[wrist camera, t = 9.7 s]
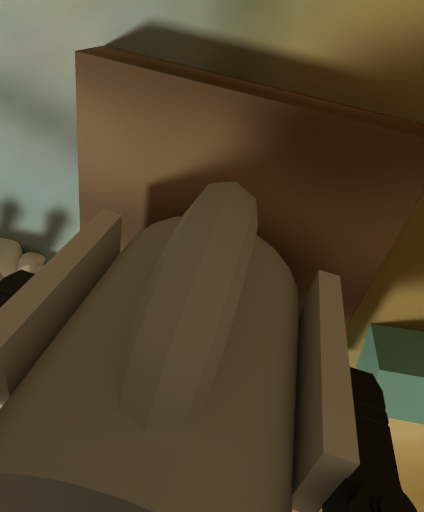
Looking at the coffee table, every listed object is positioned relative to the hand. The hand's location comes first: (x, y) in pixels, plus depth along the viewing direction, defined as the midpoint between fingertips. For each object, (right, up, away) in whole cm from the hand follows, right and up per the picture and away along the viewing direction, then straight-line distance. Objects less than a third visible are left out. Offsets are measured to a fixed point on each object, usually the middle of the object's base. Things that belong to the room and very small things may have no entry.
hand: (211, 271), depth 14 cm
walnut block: (+1, +2, +3) cm, 3 cm away
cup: (0, 0, 0) cm, 1 cm away
